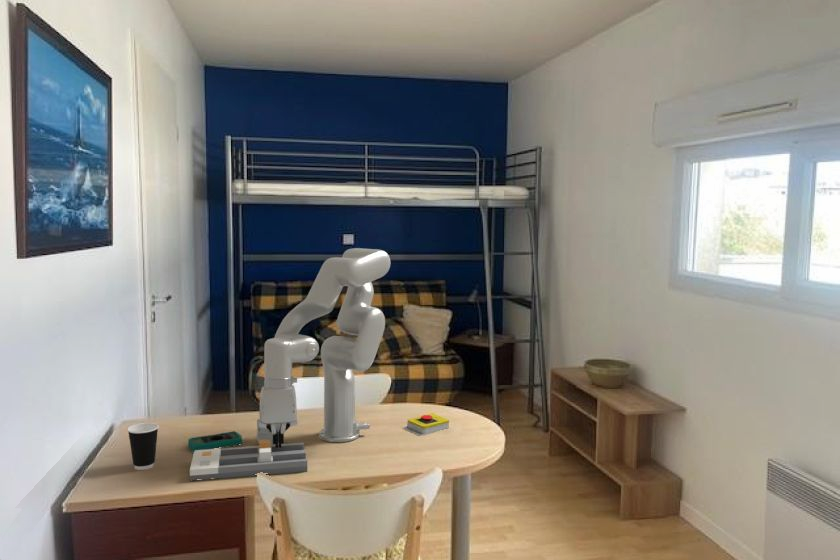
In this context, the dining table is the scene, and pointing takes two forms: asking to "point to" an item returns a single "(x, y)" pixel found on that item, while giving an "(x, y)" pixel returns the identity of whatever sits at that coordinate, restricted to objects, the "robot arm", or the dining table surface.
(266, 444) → the tab orange
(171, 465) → the dining table surface
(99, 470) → the dining table surface
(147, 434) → the dixie cup
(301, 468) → the switch panel
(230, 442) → the digital multimeter
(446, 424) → the emergency button
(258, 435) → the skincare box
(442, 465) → the dining table surface
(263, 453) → the tab white
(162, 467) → the dining table surface
